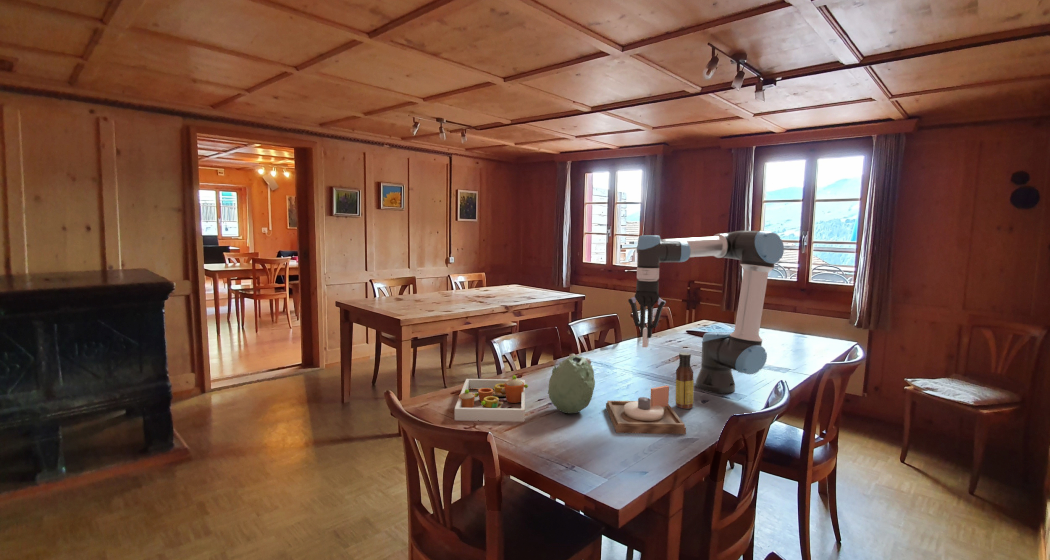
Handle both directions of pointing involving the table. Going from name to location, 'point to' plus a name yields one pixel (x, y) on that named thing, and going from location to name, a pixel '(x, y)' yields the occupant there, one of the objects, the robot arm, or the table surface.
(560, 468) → the table surface
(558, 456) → the table surface
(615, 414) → the brown wooden tray
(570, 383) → the green monster figurine
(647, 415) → the dial
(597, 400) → the table surface
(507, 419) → the tea tray rim
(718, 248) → the robot arm
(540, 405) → the table surface
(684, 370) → the sauce bottle
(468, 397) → the toy tea set
